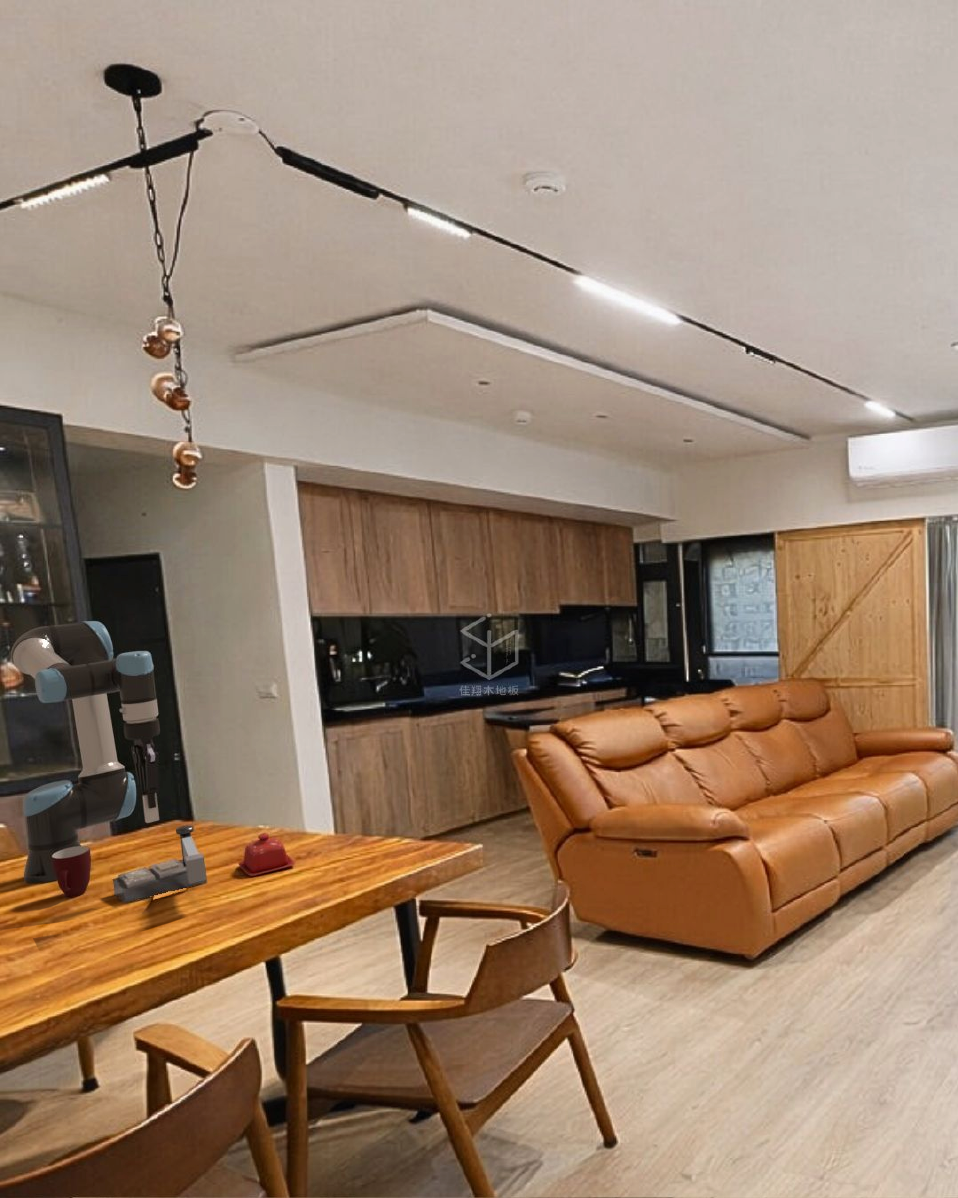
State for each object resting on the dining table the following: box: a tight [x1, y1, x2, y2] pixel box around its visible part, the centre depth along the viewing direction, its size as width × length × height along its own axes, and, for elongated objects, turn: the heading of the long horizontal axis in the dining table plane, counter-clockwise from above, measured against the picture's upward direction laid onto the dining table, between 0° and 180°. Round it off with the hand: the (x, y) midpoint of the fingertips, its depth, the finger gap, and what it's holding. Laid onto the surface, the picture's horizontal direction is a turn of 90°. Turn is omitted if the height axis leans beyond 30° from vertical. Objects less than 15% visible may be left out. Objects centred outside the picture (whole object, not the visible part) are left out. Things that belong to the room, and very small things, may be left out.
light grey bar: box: [182, 835, 207, 884], centre depth 192 cm, size 17×4×5 cm, turn 25°
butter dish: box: [238, 832, 296, 877], centre depth 206 cm, size 12×12×8 cm
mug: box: [52, 845, 92, 898], centre depth 198 cm, size 11×8×10 cm
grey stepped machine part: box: [112, 825, 208, 904], centre depth 197 cm, size 10×18×12 cm, turn 126°
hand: (152, 820), depth 197 cm, fingers closed
